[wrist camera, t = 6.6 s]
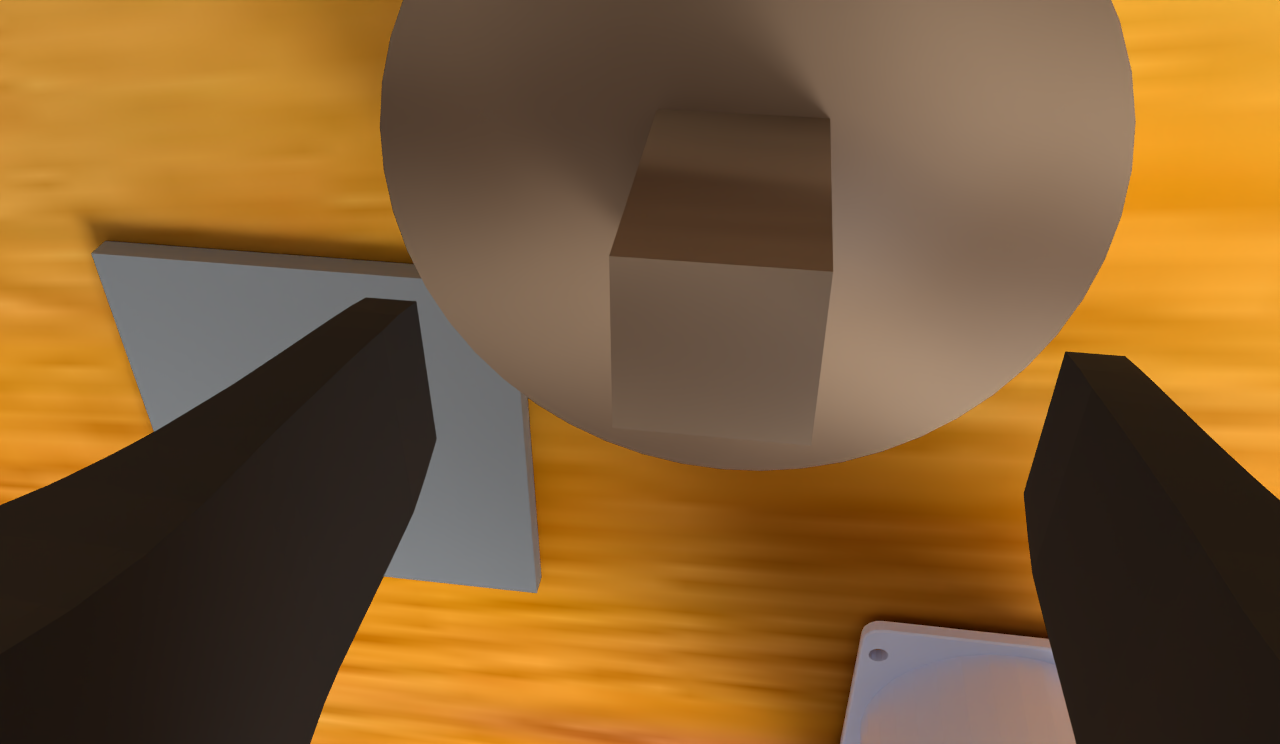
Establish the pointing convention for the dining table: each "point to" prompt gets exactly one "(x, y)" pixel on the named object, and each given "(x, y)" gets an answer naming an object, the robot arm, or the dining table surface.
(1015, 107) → the lid
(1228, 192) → the dining table surface
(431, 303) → the coaster
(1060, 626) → the robot arm
